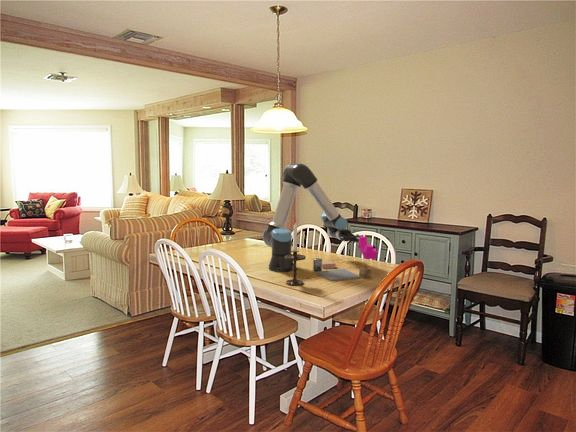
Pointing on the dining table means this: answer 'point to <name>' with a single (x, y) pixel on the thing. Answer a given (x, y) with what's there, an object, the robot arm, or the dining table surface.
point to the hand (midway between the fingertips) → (362, 241)
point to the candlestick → (294, 258)
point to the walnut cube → (365, 272)
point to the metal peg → (317, 264)
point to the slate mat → (338, 275)
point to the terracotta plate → (328, 265)
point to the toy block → (366, 248)
